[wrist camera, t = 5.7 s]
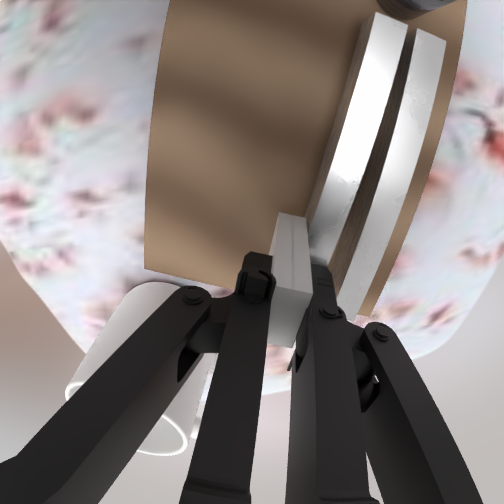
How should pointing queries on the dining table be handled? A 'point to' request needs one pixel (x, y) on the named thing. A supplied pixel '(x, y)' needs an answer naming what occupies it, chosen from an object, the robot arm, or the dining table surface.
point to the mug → (187, 399)
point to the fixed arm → (389, 157)
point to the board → (260, 126)
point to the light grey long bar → (353, 132)
